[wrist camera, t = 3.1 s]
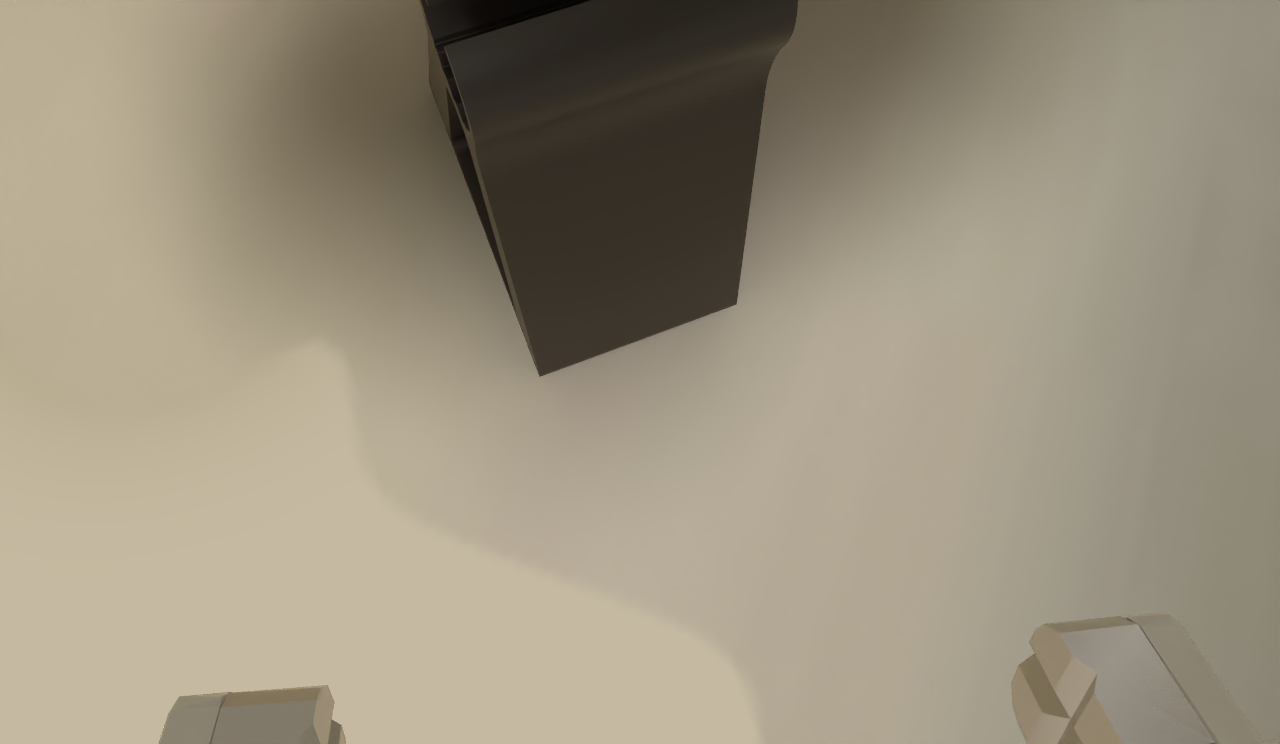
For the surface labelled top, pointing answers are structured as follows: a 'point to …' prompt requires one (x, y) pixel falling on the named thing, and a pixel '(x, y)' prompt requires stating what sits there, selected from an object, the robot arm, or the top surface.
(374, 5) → the top surface
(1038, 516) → the top surface
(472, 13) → the door stopper
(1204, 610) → the top surface
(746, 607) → the top surface
